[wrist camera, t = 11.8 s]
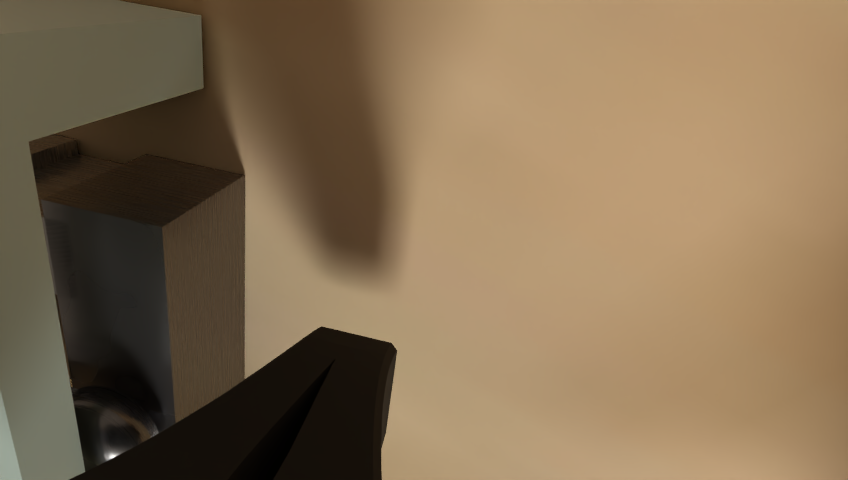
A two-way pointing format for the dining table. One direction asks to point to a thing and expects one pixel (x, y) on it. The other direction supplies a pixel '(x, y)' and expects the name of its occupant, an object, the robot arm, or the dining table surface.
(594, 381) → the dining table surface
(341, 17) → the dining table surface
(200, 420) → the robot arm
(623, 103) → the dining table surface
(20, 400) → the pale green notched block
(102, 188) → the tong base
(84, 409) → the tong arm
